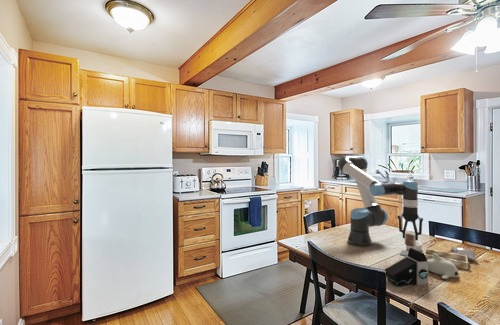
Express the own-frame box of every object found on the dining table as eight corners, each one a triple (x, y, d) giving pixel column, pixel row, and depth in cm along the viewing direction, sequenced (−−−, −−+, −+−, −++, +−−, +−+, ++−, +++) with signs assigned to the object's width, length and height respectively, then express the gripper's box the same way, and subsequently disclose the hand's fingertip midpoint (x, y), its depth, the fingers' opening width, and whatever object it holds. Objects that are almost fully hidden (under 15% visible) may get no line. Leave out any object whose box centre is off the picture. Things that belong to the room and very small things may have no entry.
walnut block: (405, 245, 154) (405, 233, 154) (406, 243, 157) (406, 232, 157) (413, 246, 152) (413, 235, 151) (414, 244, 155) (414, 233, 155)
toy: (461, 284, 119) (462, 263, 119) (413, 275, 129) (414, 255, 128) (455, 270, 133) (456, 251, 133) (413, 262, 143) (413, 245, 143)
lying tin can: (451, 257, 149) (451, 247, 149) (451, 255, 153) (451, 245, 154) (474, 262, 142) (474, 251, 143) (473, 260, 147) (473, 249, 148)
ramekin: (405, 249, 163) (405, 243, 163) (407, 245, 169) (407, 239, 169) (421, 252, 158) (421, 246, 158) (422, 248, 164) (422, 242, 164)
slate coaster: (400, 255, 154) (400, 254, 154) (402, 250, 161) (402, 249, 161) (417, 258, 149) (417, 257, 149) (419, 253, 156) (419, 252, 156)
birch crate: (423, 260, 146) (423, 254, 146) (424, 254, 155) (425, 248, 155) (468, 269, 134) (468, 263, 134) (467, 262, 143) (467, 256, 143)
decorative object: (382, 280, 124) (382, 249, 123) (415, 276, 127) (415, 247, 126) (395, 288, 116) (395, 256, 115) (429, 284, 119) (429, 253, 118)
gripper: (393, 205, 156) (393, 243, 157) (426, 208, 146) (426, 249, 146) (395, 203, 162) (395, 240, 163) (427, 206, 152) (427, 245, 152)
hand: (410, 244), depth 154 cm, fingers closed on walnut block, 4 cm apart
